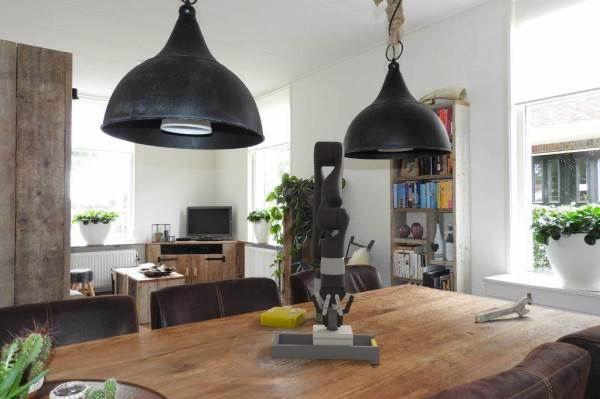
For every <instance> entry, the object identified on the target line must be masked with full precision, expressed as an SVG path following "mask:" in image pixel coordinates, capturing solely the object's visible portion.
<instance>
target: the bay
mask: <svg viewBox="0 0 600 399" xmlns="http://www.w3.org/2000/svg"><path fill="white" fill-rule="evenodd" d="M380 352H381V350H380V345H378V343H377V340H376V339H375V334H371V333H369V334H368V333H366V334H365V333H360V334H359V333H353V346H346V345H313V332H312V333H310V332H309V333H306V332H305V333H304V332H301V333H300V332H299V333H298V332H276V333H275V335H274V339H273V341H272V343H271V358H272V359H297V360H298V359H300V360H304V359H306V360H344V361H345V360H349V361H350V360H351V361H352V360H355V361H356V360H357V361H368V362H369V364H370V365H381V364H380V363H381V361H380V358H381V357H380V356H381V354H380Z"/></svg>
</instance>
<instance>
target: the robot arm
mask: <svg viewBox="0 0 600 399" xmlns="http://www.w3.org/2000/svg"><path fill="white" fill-rule="evenodd" d="M344 165H345V147H344V144H343V143H342V142H340V141H321V140H320V141H319V140H318V141H316V142H315V143H314V147H313V178H314V179H313V181H314V182H313V183H314V184H313V195H312V198H313V199H312V233H311V234H312V235H311V243H310V244H311V245H310V255H311V259H312V260H313V261H316V262H320V268H317V269H316V270H315V271H314V283H313V284H314V287H313V288H314V292H313V293H311V295H310V297H311V300H312V303H313V306H314V307H313V308H314V309H313V310H314V317H313V318H314V321H315V322H320V323H321V318H322V324H323V325H325V327H327V314H326V312H327V308H328V305H331V304H332V309H338V327H341V326H342V325H343V324H344V320H343V319H344V317H343V316H344V315H346V314H349V312H350V310H351V307H352V304H353V302H354V299H355V295H354V294H353V293H348V292H347V291H346V288H345V285H346V283H345V282H346V281H345V280H346V276H345V274H346V273H345V272H346V268H345V267H346V265H345V258H344V257H345V238H346V234H347V231H348V227H349V225H350V220H351V219H350V218H351V215H350V211H349V210H347V208H344V207H342V205H343V201H344V200H343V198H344V196H343V178H344V177H343V176H344V168H345V166H344ZM325 167H329V168H330V167H331V168H333V169H332V170H331V171H330V172H329V174H328V175H327V176H325V173H324V170H323V168H325ZM324 231H337V234H336V235H334V236H331V237H326V238H321V237H322V235H323V233H324ZM345 297H346V301H347V302H346V304H345V307H344V308H342V304H341V302H342V301H343V300H344V298H345ZM322 304H324V306H323V309H322Z"/></svg>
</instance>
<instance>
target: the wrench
mask: <svg viewBox="0 0 600 399" xmlns="http://www.w3.org/2000/svg"><path fill="white" fill-rule="evenodd" d="M527 303H530V304H533V300H532V298H529V297H528V296H522V297H520V298H519V299H518V300H517V301H516V302H515V303H513V304H512V305H510V306H509V305H508V306H506V307H502V308H501V307H500V308H498V309H494V310H490V311H486V312H482V313H478V314H476V315H475V316H474V321H475V322H477V323H483V322H487V321H490V320H494V319H498V318H501V317H506V316H508V315H512V314H515V315H517V316H518V317H519V318H524V316H526V315H527V314H529V313H530V312H531V309H529V308H526V305H527Z"/></svg>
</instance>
